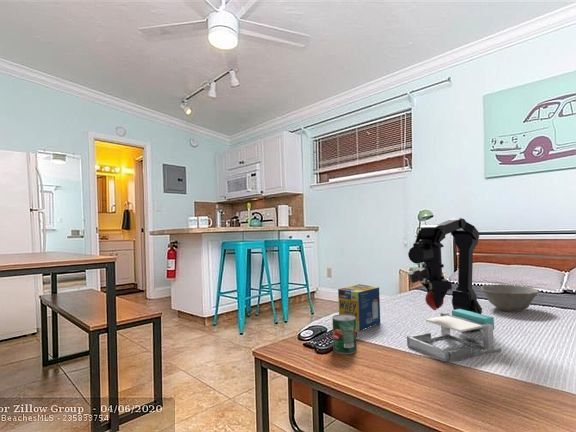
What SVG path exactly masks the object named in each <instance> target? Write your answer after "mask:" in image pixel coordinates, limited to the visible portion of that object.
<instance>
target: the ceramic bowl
mask: <svg viewBox="0 0 576 432" xmlns="http://www.w3.org/2000/svg"><path fill="white" fill-rule="evenodd" d="M480 289H481V291H482V292H483V293H484V296H485V298H486V300H487V301H488V302H489V303H490V304H491V305H493V307H495V308H496V309H498V310H500V311H502V312H508V313H512V312H515V313H517V312H522V311H525V310H526V309H528V308H529V307H530V306H531V303H532V302H533V300H534V299H535V298H536V296H537V295H538V294H539V293H540V290H539V289H537V288H535V287H530V286H524V285H516V284H515V285H513V284H486V285H482V286H480Z"/></svg>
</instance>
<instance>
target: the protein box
mask: <svg viewBox="0 0 576 432" xmlns="http://www.w3.org/2000/svg"><path fill="white" fill-rule="evenodd" d="M337 292H338V293H337V294H338V296H337V297H338V315H339V314H348V315H353V316H355V317H356V332H361V330H362V331H364V330H366V329H365V328H367V329H369V328H371V327H370V326H372V327H374V326H373V325H375V324H377V325H379V324H378V323H380V324H381V302H380V299H381V298H380V287H379V286H378V287H377V286H374V285H366V284H356V285H351V286H348V287H343V288H338V290H337ZM375 326H376V325H375ZM368 327H369V328H368ZM363 329H364V330H363Z"/></svg>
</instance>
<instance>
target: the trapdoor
mask: <svg viewBox="0 0 576 432" xmlns="http://www.w3.org/2000/svg"><path fill="white" fill-rule="evenodd" d="M494 319H495V318H494V317H493V316H490V315H485V314H478V313H474V312H470V311H466V310H462V309H456V310H454V309H452V310H451V314H450V313H449V314H447V315H446V316H441V315H440V316H435V317H431V318H427V319H425V322H426V323H427V322H428V323H431V324H433V325H437V326H440V327H441V326H443V327H446V328H449V329H450V330H453V331H454V332H455V331H456V332H457V333H458V332H459V333H462V332H468V330H473V329H480V330H479V331H483V327H482V325H483V324H491V325H493V331H494V330H495V321H494Z"/></svg>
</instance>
